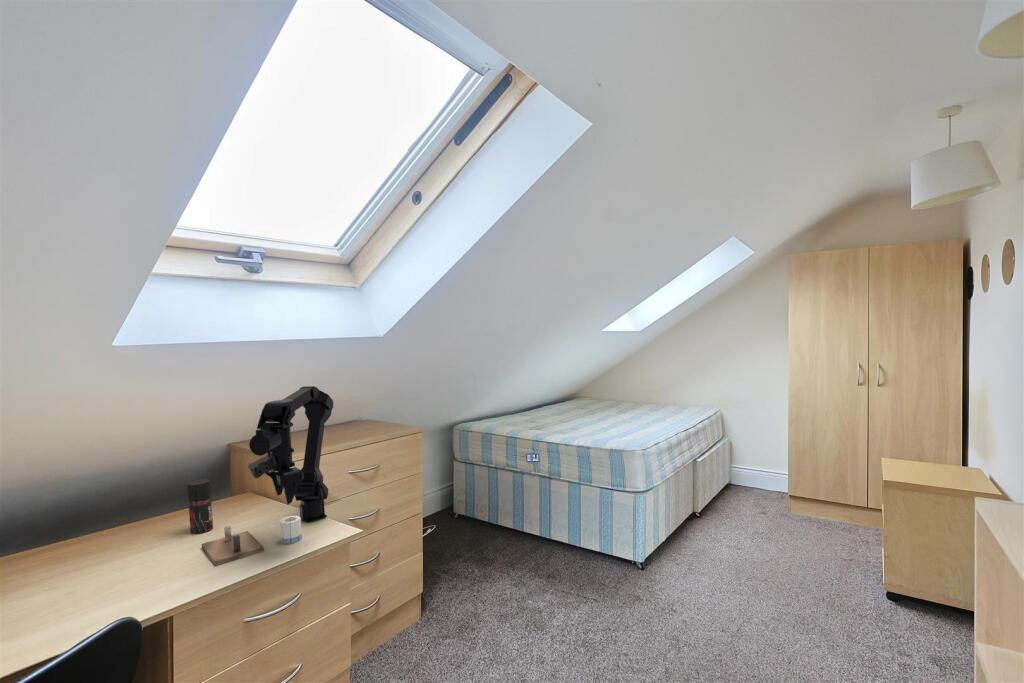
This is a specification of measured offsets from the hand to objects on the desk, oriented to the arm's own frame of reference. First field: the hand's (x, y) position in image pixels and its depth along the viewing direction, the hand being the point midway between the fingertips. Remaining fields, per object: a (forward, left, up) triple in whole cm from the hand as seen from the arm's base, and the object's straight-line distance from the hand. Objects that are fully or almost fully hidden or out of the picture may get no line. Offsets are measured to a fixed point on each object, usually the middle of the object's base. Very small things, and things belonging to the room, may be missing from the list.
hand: (284, 499), depth 149 cm
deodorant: (+16, -27, -12) cm, 34 cm away
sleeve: (-1, +1, -12) cm, 12 cm away
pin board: (+13, -5, -12) cm, 18 cm away
